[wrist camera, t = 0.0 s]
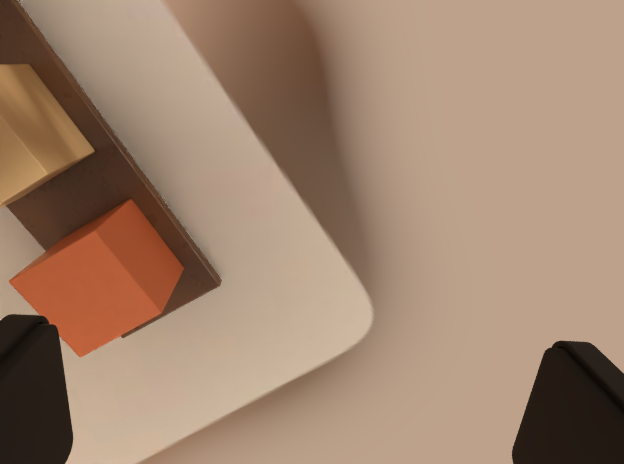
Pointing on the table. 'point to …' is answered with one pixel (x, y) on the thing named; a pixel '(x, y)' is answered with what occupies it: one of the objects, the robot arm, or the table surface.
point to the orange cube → (102, 279)
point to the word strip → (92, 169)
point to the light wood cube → (33, 134)
